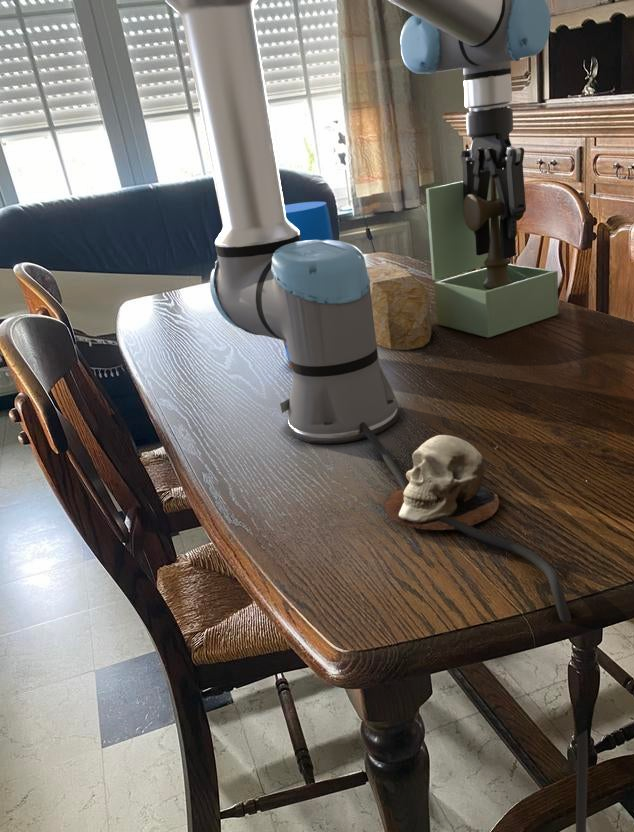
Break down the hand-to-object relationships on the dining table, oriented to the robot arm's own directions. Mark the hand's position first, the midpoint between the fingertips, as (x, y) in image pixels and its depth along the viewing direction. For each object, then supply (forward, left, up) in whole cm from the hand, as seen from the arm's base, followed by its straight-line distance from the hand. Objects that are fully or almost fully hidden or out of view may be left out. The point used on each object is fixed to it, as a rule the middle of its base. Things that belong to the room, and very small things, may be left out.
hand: (495, 255), depth 132 cm
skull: (-49, +50, -12) cm, 71 cm away
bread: (+16, +14, -12) cm, 25 cm away
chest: (0, 0, -12) cm, 12 cm away
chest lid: (+7, 0, +4) cm, 8 cm away
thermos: (+7, +34, -12) cm, 37 cm away
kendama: (0, 0, -6) cm, 6 cm away
